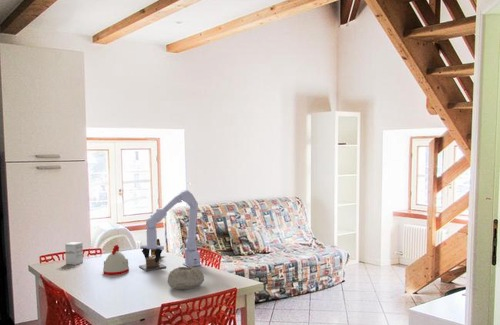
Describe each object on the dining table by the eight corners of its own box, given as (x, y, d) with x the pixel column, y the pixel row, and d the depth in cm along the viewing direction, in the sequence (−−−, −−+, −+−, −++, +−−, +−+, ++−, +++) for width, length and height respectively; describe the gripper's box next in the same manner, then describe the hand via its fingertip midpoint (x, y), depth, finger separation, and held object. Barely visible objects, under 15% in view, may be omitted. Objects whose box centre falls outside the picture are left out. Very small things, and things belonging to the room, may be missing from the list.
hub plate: (166, 267, 258) (166, 261, 258) (146, 271, 252) (146, 264, 251) (158, 263, 268) (158, 257, 268) (139, 267, 262) (138, 260, 262)
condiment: (148, 259, 282) (147, 240, 281) (155, 256, 290) (154, 237, 289) (158, 259, 279) (157, 240, 279) (165, 256, 287) (164, 238, 287)
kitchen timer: (132, 268, 259) (131, 243, 258) (123, 275, 245) (122, 248, 245) (109, 268, 260) (108, 243, 260) (99, 275, 246) (98, 248, 246)
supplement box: (65, 264, 273) (64, 243, 273) (73, 261, 280) (72, 241, 280) (75, 265, 271) (74, 244, 271) (83, 262, 278) (82, 241, 278)
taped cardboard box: (154, 266, 257) (153, 257, 256) (146, 266, 258) (145, 257, 258) (159, 264, 262) (158, 254, 261) (151, 264, 263) (150, 254, 263)
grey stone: (187, 280, 231) (187, 261, 230) (212, 286, 219) (211, 266, 219) (160, 289, 217) (159, 269, 217) (185, 296, 206) (184, 274, 205)
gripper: (166, 237, 261) (166, 260, 261) (144, 236, 266) (145, 259, 266) (160, 239, 254) (160, 263, 255) (138, 239, 259) (138, 262, 259)
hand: (152, 261), depth 260 cm, fingers open, 6 cm apart
